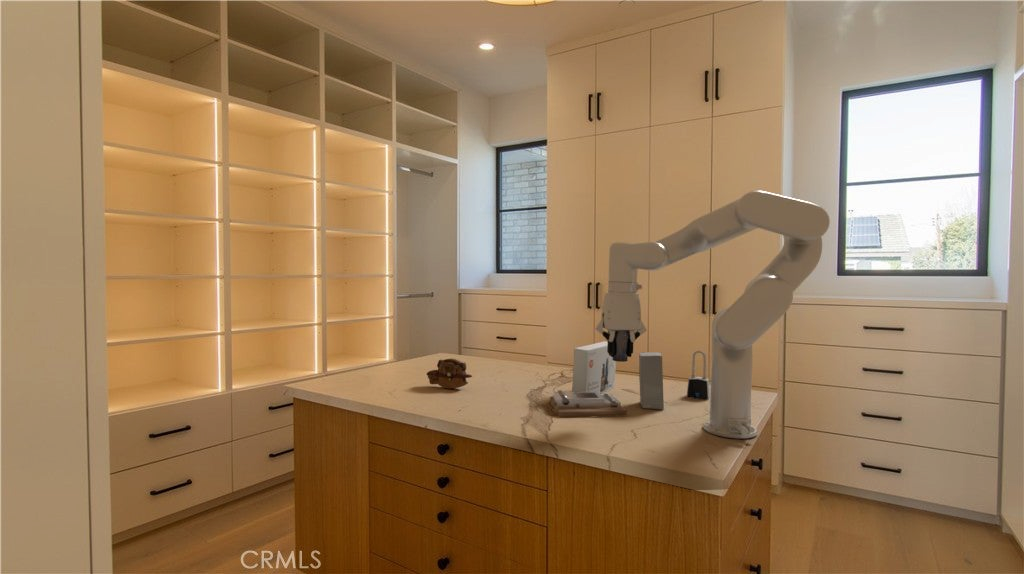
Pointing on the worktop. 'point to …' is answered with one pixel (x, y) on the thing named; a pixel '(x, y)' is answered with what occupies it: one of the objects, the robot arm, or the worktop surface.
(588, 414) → the walnut board
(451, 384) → the wooden carving
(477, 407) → the worktop surface
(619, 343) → the pin
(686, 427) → the worktop surface
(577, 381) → the skincare box
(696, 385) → the padlock
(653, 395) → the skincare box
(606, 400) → the grey tray
